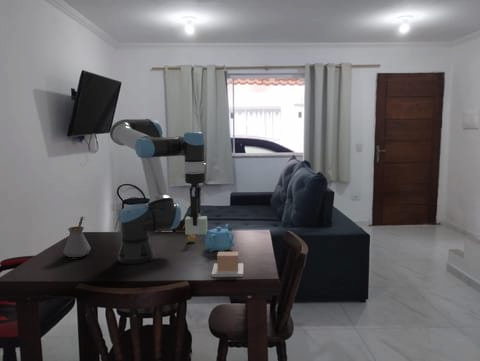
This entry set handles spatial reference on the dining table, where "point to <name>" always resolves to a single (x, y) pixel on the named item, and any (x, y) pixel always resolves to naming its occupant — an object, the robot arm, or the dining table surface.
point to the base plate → (227, 272)
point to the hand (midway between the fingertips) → (196, 231)
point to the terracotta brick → (227, 261)
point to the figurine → (190, 237)
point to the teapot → (219, 239)
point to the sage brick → (201, 225)
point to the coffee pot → (76, 242)
